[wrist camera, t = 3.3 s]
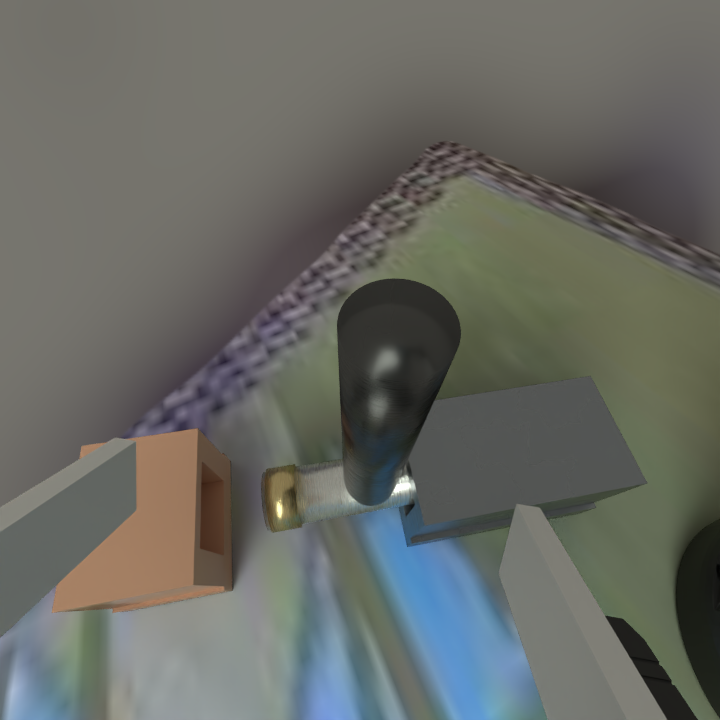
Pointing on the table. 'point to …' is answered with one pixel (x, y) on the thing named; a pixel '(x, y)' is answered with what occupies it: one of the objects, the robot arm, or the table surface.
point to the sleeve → (514, 459)
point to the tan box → (162, 532)
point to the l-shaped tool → (372, 405)
